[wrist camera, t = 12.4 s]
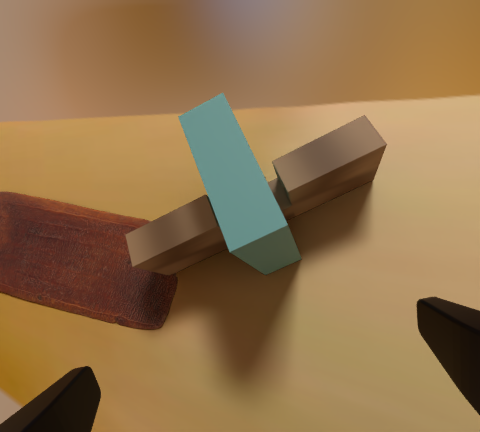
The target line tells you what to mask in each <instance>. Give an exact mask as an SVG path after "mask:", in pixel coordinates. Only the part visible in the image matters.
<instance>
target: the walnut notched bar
mask: <svg viewBox="0 0 480 432" xmlns="http://www.w3.org/2000/svg"><path fill="white" fill-rule="evenodd" d="M386 145H387V144H386V142H385V141H384V140H383V138H382V137H381V136H380V134H379V133H378V132H377V130H376V129H375V128H374V126H373V125H372V124H371V122H370V121H369V120H368V118H367V117H366V116H365V115H364V116H362V117H360V118H358V119H356V120H354V121H352V122H350V123H348V124H346V125H344V126H342V127H340V128H338V129H336V130H334V131H332V132H330V133H328V134H326V135H324V136H322V137H320V138H318V139H316V140H314V141H312V142H310V143H308V144H306V145H304V146H302V147H300V148H298V149H296V150H294V151H292V152H290V153H288V154H286V155H284V156H282V157H280V158H278V159H276V160H274V161H272V163H273V166H274V169H275V171H276V174H277V177H278V178H276V179H274V180H272V181H270V182H268V185H269V187H270V189H271V191H272V193H273V195H274V197H275V199H276V201H277V203H278V205H279V208H280V210H281V212H282V214H283V216H284V218H285V220H286V221H287V220H289V219H291V218H293V217H296V216H298V215H300V214H302V213H304V212H306V211H308V210H310V209H313V208H315V207H317V206H319V205H321V204H323V203H325V202H327V201H330V200H332V199H334V198H336V197H338V196H340V195H342V194H345V193H347V192H349V191H351V190H353V189H355V188H357V187H359V186H362V185H364V184H366V183H368V182H370V181H372V180H374V177H375V174H376V172H377V169H378V166H379V164H380V161H381V158H382V156H383V153H384V151H385V148H386ZM126 240H127V244H128V249H129V253H130V258H131V262H132V267H135V268H139V269H144V270H148V271H152V272H156V273H160V274H164V275H171V274H174V273H176V272H178V271H180V270H183V269H185V268H187V267H189V266H191V265H193V264H195V263H198V262H200V261H202V260H204V259H206V258H208V257H210V256H212V255H215V254H217V253H219V252H221V251H223V250H225V249H227V248H228V247H227V244H226V241H225V239H224V236H223V233H222V231H221V228H220V225H219V223H218V220H217V218H216V215H215V212H214V210H213V207H212V204H211V202H210V199H209V197H208V196H207V195H204V196H202V197H200V198H198V199H196V200H194V201H192V202H190V203H188V204H186V205H184V206H182V207H180V208H178V209H176V210H174V211H172V212H170V213H168V214H166V215H164V216H162V217H160V218H158V219H156V220H154V221H152V222H150V223H148V224H146V225H144V226H142V227H140V228H138V229H136V230H134V231H132V232H130V233H128V234H126Z"/></svg>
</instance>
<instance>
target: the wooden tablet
mask: <svg viewBox="0 0 480 432" xmlns="http://www.w3.org/2000/svg"><path fill="white" fill-rule="evenodd" d="M150 222H152V221H149V220H145V219H140V218H134V217H128V216H123V215H118V214H113V213H109V212H104V211H99V210H94V209H89V208H85V207H81V206H77V205H72V204H68V203H63V202H59V201H55V200H50V199H44V198H40V197H33V196H28V195H23V194H18V193H12V192H0V291H1V292H3V293H8V294H10V295H13V296H16V297H19V298H22V299H25V300H28V301H32V302H36V303H40V304H43V305H47V306H50V307H54V308H57V309H61V310H65V311H69V312H73V313H76V314H81V315H84V316H88V317H91V318H95V319H100V320H103V321H107V322H110V323H115V322H117V323H118V324H119V325H125V326H129V327H134V328H140V329H156V328H159V327H161V326H162V325H163V323H164V321H165V317H166V316H167V314H168V312H169V309H170V304H171V301H172V299H173V297H174V294H175V291H176V287H177V281H178V280H177V277H176V273H174V274H171V275H164V274H160V273H156V272H152V271H148V270H144V269H139V268H135V267H132V262H131V258H130V253H129V249H128V244H127V240H126V234H128V233H130V232H132V231H134V230H136V229H138V228H140V227H142V226H144V225H146V224H148V223H150Z"/></svg>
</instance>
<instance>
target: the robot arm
mask: <svg viewBox="0 0 480 432" xmlns="http://www.w3.org/2000/svg"><path fill="white" fill-rule="evenodd" d="M417 322H418V329H419V332H420V334H421V336H422V337H423V339H424V340H425V341H426V343H427V344H428V346H429V347H430V349H431V350H432V352H433V353H434V354H435V356H436V357H437V359H438V360H439V362H440V363H441V365H442V366H443V368H444V369H445V370H446V372H447V373H448V375H449V376H450V378H451V379H452V381H453V382H454V383H455V385H456V386H457V388H458V389H459V390H460V392H461V393H462V394H463V395H464V397H465V398H466V399H467V400H468V402H469V403H470V404H471V405H472V407H473V408H474V409H475V410H476V411H477V413H478V414H479V415H480V311H479V310H475V309H472V308H469V307H466V306H463V305H459V304H456V303H453V302H450V301H447V300H443V299H440V298H437V297H428V298H423V299H419V300H418V301H417ZM100 398H101V391H100V387H99V385H98V382H97V380H96V378H95V375H94V373H93V371H92V369H91V368H90V367H88V366H85V367H80V368H75V369H73V370H71V371H70V372H68V373H67V374H66V375H64V376H63V377H62V378H61V379H59V380H58V381H57V382H55V383H54V384H53V385H51V386H50V387H49V388H47V389H46V390H45V391H43V392H42V393H41V394H40V395H38V396H37V397H36V398H34V399H33V400H32V401H30V402H29V403H28V404H26V405H25V406H24V407H22V408H21V409H20V410H19V411H17V412H16V413H15V414H13V415H12V416H11V417H9V418H8V419H7V420H5V421H4V422H3V423H2V424H0V432H91V430H92V426H93V423H94V419H95V416H96V412H97V409H98V405H99V402H100Z"/></svg>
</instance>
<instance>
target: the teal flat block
mask: <svg viewBox="0 0 480 432" xmlns="http://www.w3.org/2000/svg"><path fill="white" fill-rule="evenodd" d="M179 120H180V123H181V125H182V128H183V130H184V133H185V136H186V138H187V141H188V144H189V146H190V149H191V152H192V154H193V157H194V159H195V162H196V165H197V167H198V170H199V173H200V175H201V178H202V181H203V183H204V186H205V189H206V191H207V194H208V196H209V199H210V202H211V204H212V207H213V210H214V212H215V215H216V218H217V220H218V223H219V225H220V228H221V231H222V233H223V236H224V239H225V241H226V244H227V247H228V249H229V252H230V253H232V254H233V255H235V256H236V257H238V258H240V259H241V260H243V261H244V262H246V263H247V264H249V265H250V266H252V267H254V268H255V269H257V270H258V271H260V272H261V273H263V274H264V275H267V274H269V273H272V272H274V271H276V270H278V269H281V268H283V267H285V266H287V265H290V264H292V263H294V262H296V261H298V260H301V259H302V258H301V256H300V253H299V251H298V248H297V246H296V243H295V241H294V238H293V236H292V233H291V231H290V228H289V226H288V224H287V222H286V220H285V218H284V216H283V214H282V212H281V210H280V208H279V205H278V203H277V201H276V199H275V197H274V195H273V193H272V191H271V189H270V187H269V185H268V183H267V181H266V179H265V177H264V175H263V173H262V171H261V169H260V167H259V165H258V163H257V161H256V159H255V157H254V155H253V153H252V151H251V149H250V147H249V145H248V143H247V140H246V138H245V136H244V134H243V132H242V130H241V128H240V126H239V124H238V122H237V120H236V118H235V116H234V114H233V112H232V110H231V108H230V106H229V104H228V102H227V100H226V98H225V96H224V94H223V93H221V94H219V95H218V96H216V97H214V98H212V99H210V100H209V101H207V102H205V103H203V104H201V105H199V106H197V107H195V108H194V109H192V110H190V111H188V112H186V113H184V114H183V115H181V116H179Z"/></svg>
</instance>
